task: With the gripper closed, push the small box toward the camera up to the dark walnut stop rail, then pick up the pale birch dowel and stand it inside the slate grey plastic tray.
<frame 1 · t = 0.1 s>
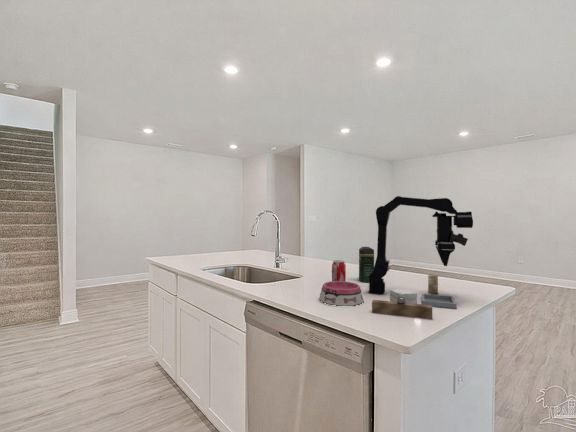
hand: (444, 264, 130), 15 cm above the worktop, tool pointing down, fingers open, 9 cm apart
coffee jar: (366, 281, 167), on the worktop
dog bowl: (341, 301, 128), on the worktop
stop rail: (401, 314, 109), on the worktop
small box: (403, 304, 124), on the worktop
soda can: (338, 284, 158), on the worktop
dowel: (433, 293, 139), on the worktop
tray: (437, 303, 123), on the worktop
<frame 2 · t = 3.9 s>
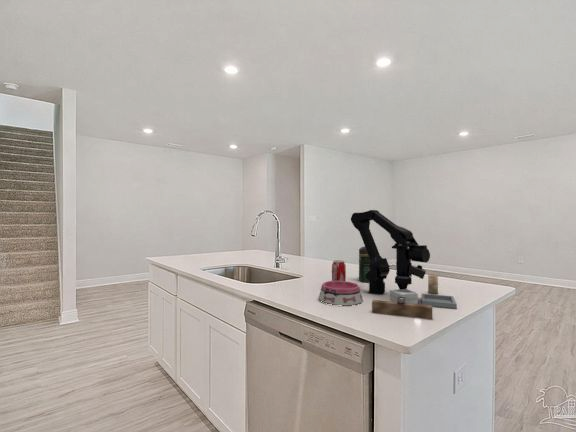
hand: (403, 296, 130), 1 cm above the worktop, tool pointing down, fingers closed
small box: (403, 304, 123), on the worktop, touching gripper
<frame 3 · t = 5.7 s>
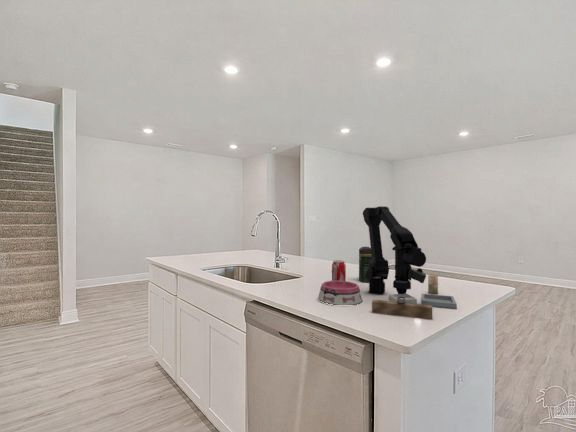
hand: (402, 301, 122), 1 cm above the worktop, tool pointing down, fingers closed
small box: (402, 310, 115), on the worktop, touching gripper, stop rail
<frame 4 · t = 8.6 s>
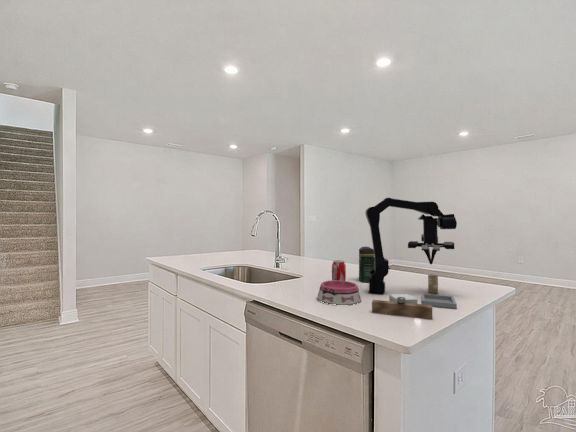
hand: (431, 264, 138), 13 cm above the worktop, tool pointing down, fingers closed
small box: (402, 310, 116), on the worktop
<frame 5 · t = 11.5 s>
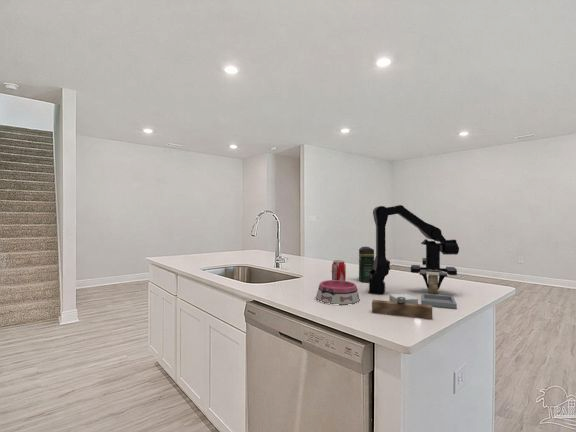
hand: (433, 288, 139), 2 cm above the worktop, tool pointing down, fingers closed on dowel, 4 cm apart
dowel: (433, 293, 139), on the worktop, touching gripper
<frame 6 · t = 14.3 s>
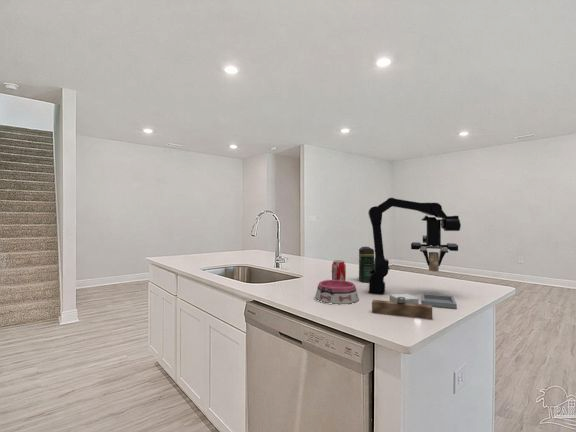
hand: (433, 265, 137), 13 cm above the worktop, tool pointing down, fingers closed on dowel, 4 cm apart
dowel: (433, 270, 137), point 11 cm above the worktop, touching gripper
when the fingers open (3 cm above the worktop, at t = 17.4 s): dowel drops 1 cm, resting on tray.
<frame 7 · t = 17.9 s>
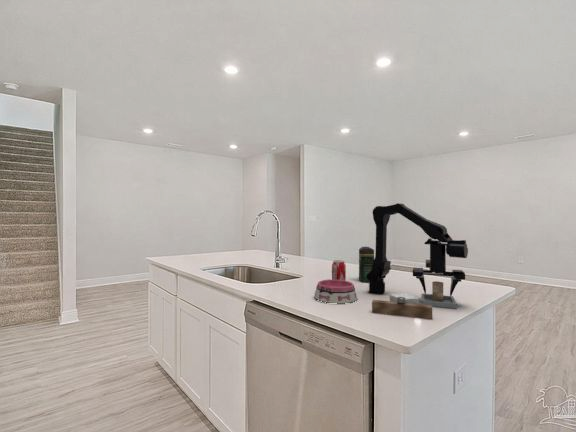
hand: (437, 294, 123), 3 cm above the worktop, tool pointing down, fingers open, 9 cm apart
dowel: (437, 302, 123), resting on tray
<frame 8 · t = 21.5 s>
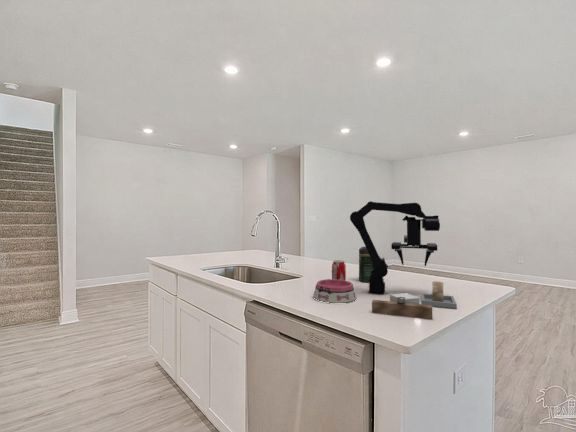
hand: (413, 265, 137), 13 cm above the worktop, tool pointing down, fingers open, 9 cm apart
at the end: small box inside the target area (1.1 cm from its centre), on the worktop; dowel 0.0 cm off-centre on the tray, point 0.4 cm above the tray's base; dowel tilted 0° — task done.
